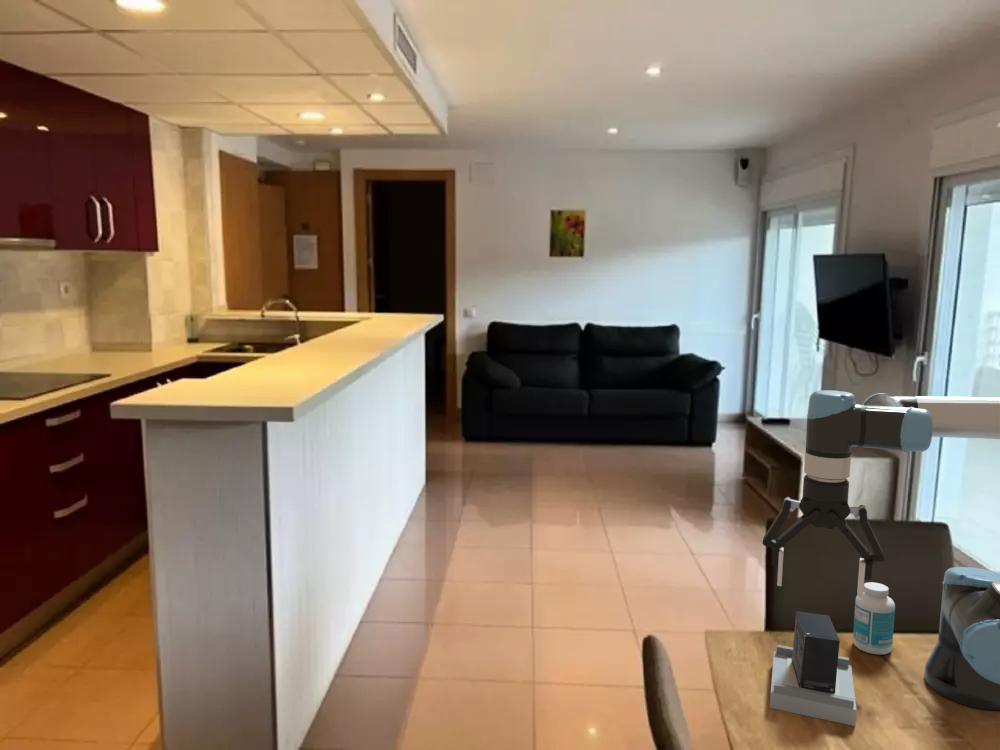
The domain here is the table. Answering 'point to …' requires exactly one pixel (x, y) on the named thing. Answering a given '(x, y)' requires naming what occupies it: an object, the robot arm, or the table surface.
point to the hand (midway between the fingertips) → (818, 589)
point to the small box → (815, 652)
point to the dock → (812, 691)
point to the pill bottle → (874, 620)
